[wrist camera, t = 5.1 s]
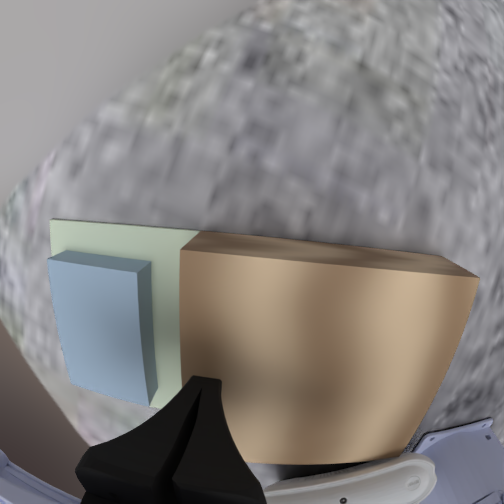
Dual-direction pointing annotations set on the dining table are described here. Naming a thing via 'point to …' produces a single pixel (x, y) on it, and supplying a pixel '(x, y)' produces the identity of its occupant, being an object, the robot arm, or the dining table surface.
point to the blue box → (105, 323)
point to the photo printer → (361, 484)
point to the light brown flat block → (319, 342)
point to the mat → (162, 280)
